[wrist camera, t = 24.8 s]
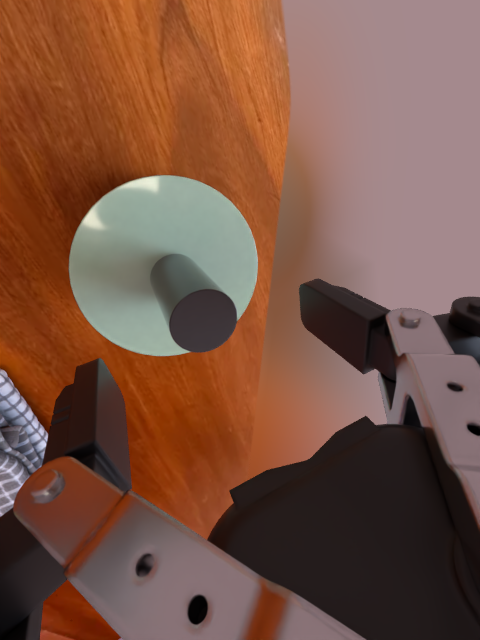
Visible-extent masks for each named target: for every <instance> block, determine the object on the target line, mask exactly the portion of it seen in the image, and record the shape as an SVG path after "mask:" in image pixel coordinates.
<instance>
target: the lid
mask: <svg viewBox="0 0 480 640" xmlns="http://www.w3.org/2000/svg"><path fill="white" fill-rule="evenodd" d="M257 269H258V260H257V251H256V246H255V241H254V238H253V235H252V232H251V230H250V228H249V226H248V224H247V222H246V220H245V219H244V217H243V216H242V214H241V213H240V211H239V210H238V209H237V208H236V207H235V206H234V204H233V203H232V202H231V201H230V200H228V199H227V198H226V197H225V196H224V195H223V194H221V193H220V192H218V191H217V190H215V189H214V188H212V187H210V186H208V185H206V184H204V183H202V182H199V181H196V180H193V179H190V178H186V177H180V176H174V175H154V176H146V177H141V178H138V179H134V180H131V181H128V182H126V183H124V184H122V185H119V186H117V187H115V188H114V189H112V190H111V191H109V192H108V193H106V194H105V195H103V196H102V197H101V198H100V199H99V200H98V201H97V202H96V203H95V204H94V205H93V206H92V207H91V208H90V210H89V211H88V212H87V213H86V215H85V216H84V217H83V219H82V221H81V223H80V225H79V227H78V228H77V230H76V233H75V236H74V239H73V241H72V245H71V250H70V256H69V277H70V284H71V288H72V291H73V294H74V298H75V300H76V302H77V304H78V306H79V308H80V310H81V312H82V313H83V315H84V316H85V318H86V319H87V320H88V321H89V323H90V324H91V325H92V326H93V327H94V328H95V329H96V330H97V331H98V332H99V333H100V334H102V335H103V336H104V337H105V338H107V339H108V340H110V341H111V342H113V343H114V344H116V345H118V346H120V347H123V348H125V349H127V350H130V351H133V352H136V353H141V354H145V355H153V356H172V355H180V354H184V353H189V352H207V351H210V350H213V349H215V348H217V347H219V346H221V345H222V344H223V343H224V342H226V341H227V340H228V338H229V337H230V336H231V335H232V333H233V331H234V329H235V327H236V323H237V321H238V320H239V318H240V317H241V315H242V314H243V312H244V311H245V309H246V307H247V305H248V304H249V302H250V299H251V297H252V294H253V291H254V288H255V284H256V278H257Z"/></svg>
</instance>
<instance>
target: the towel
mask: <svg viewBox="0 0 480 640" xmlns="http://www.w3.org/2000/svg"><path fill="white" fill-rule="evenodd" d="M47 439H48V433H47V432H46V431H45V430H44V427H43V426H42V425H41V424H40V422H39V421H38V420H37V417H36V416H35V415H34V413H33V412H32V410H31V408H30V406H29V405H28V404H27V403H26V401H25V400H24V398H23V397H22V396H20V393H19V392H18V390H17V388H15V387H14V384H13V382H12V381H11V379H10V378H9V377H7V373H6V372H5V371H4V370H3V369H0V517H1V516H2V515H4V514H5V513H6V512H8V511H9V510H10V509H12V508H13V504H14V500H15V498H16V495H17V493H18V491H19V489H20V488H21V486H22V485H23V484H24V482H25V481H26V480H27V479H28V478H29V477H30V476H31V475H32V474H33V473H34V472H35V471H36V470H37V469H38V468H40V467H41V466H42V463H43V458H44V453H45V449H46V444H47Z"/></svg>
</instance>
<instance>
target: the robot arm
mask: <svg viewBox="0 0 480 640" xmlns="http://www.w3.org/2000/svg"><path fill="white" fill-rule="evenodd" d="M299 295H300V310H301V320H302V322H303V325H304V326H305V328H306V329H307V330H308V331H310V332H311V333H312V334H313V335H315V336H316V337H317V338H318V339H320V340H321V341H322V342H323V343H325V344H326V345H327V346H328V347H330V348H331V349H332V350H334V351H335V352H336V353H337V354H339V355H340V356H341V357H342V358H344V359H345V360H346V361H347V362H349V363H350V364H351V365H353V366H354V367H355V368H356V369H357V370H359V371H360V372H361V373H362V374H366V373H368V372H370V371H371V370H374V369H377V370H378V371H379V373H378V381H379V385H380V389H381V394H382V399H383V403H384V408H385V412H386V417H387V424H383V425H375V424H374V423H373V422H372V421H371V420H370V419H369V418H368V417H366V416H365V417H363V418H361V419H359V420H358V421H356V422H354V423H352V424H350V425H348V426H346V427H345V428H343V429H341V430H339V431H337V432H336V433H335V434H334V435H333V436H332V437H331V438H330V439H329V440H328V441H327V442H326V443H325V444H324V445H323V446H322V447H321V448H320V449H319V450H318V451H317V452H316V453H315V454H314V455H313V456H312V457H311V458H310V459H308V460H306V461H303V462H299V463H294V464H290V465H286V466H282V467H278V468H274V469H270V470H266V471H265V472H263V473H261V474H259V475H257V476H255V477H253V478H252V479H250V480H248V481H246V482H244V483H242V484H241V485H239V486H237V487H235V488H233V489H231V490H230V494H231V497H232V499H233V502H234V503H233V504H232V505H231V506H230V507H229V508H228V509H227V510H226V511H225V513H224V514H223V515H222V516H221V518H220V519H219V520H218V522H217V523H216V525H215V526H214V528H213V530H212V531H211V533H210V535H209V537H208V539H207V540H206V539H204V538H203V537H201V536H200V535H198V534H197V533H195V532H194V531H192V530H191V529H189V528H188V527H186V526H185V525H183V524H182V523H180V522H179V521H177V520H176V519H174V518H173V517H171V516H170V515H168V514H167V513H165V512H164V511H162V510H161V509H159V508H158V507H156V506H155V505H153V504H152V503H150V502H149V501H147V500H146V499H144V498H143V497H141V496H140V495H138V494H137V493H135V492H133V491H131V490H130V489H132V485H131V473H130V461H129V448H128V436H127V424H126V411H125V403H124V399H123V396H122V393H121V391H120V389H119V387H118V385H117V384H116V382H115V380H114V379H113V377H112V375H111V373H110V372H109V370H108V368H107V366H106V365H105V363H104V361H103V360H102V359H101V358H99V359H96V360H94V361H91V362H88V363H85V364H83V365H80V366H77V368H76V372H75V379H74V384H71V385H68V386H66V387H65V388H64V389H63V391H62V392H61V393H60V395H59V396H58V398H57V399H56V402H55V407H54V412H53V413H54V415H53V416H52V421H51V425H52V426H50V430H49V435H48V439H47V444H46V449H45V453H44V458H43V463H42V466H41V467H40V468H38V469H37V470H36V471H35V472H34V473H33V474H32V475H31V476H30V477H29V478H28V479H27V480H26V481H25V482H24V484H23V485H22V486H21V488H20V489H19V491H18V493H17V495H16V498H15V500H14V504H13V508H12V509H10V510H9V511H8V512H6V513H5V514H4V515H2V516H1V517H0V640H40V630H41V620H42V609H43V601H44V600H45V599H47V598H48V597H49V596H50V595H51V594H52V593H53V592H54V591H55V590H56V589H57V588H58V587H60V586H61V585H62V584H63V583H64V582H65V581H66V580H67V579H68V580H69V581H70V582H71V583H72V585H73V586H74V587H75V588H76V589H77V590H78V591H79V592H80V593H81V594H82V595H83V596H84V598H85V599H86V600H87V601H88V602H89V603H90V604H91V605H92V606H93V607H94V608H95V610H96V611H97V612H98V613H99V614H100V615H101V616H102V617H103V618H104V619H105V620H106V621H107V623H108V624H109V625H110V626H111V627H112V628H113V629H114V630H115V631H116V632H117V633H118V635H119V636H120V637H121V638H122V639H123V640H480V297H463V298H459V299H456V300H455V301H454V302H453V303H452V307H451V310H450V313H448V314H442V315H436V316H431V315H430V314H428V313H426V312H424V311H421V310H418V309H412V308H400V309H395V310H392V311H391V310H388V309H386V308H384V307H382V306H380V305H378V304H376V303H374V302H372V301H370V300H368V299H366V298H363V297H362V296H360V295H358V294H355V293H354V292H352V291H350V290H348V289H346V288H343V287H338V286H334V285H331V284H329V283H327V282H325V281H323V280H321V279H314V280H312V281H309V282H306V283H304V284H301V285H300V288H299Z"/></svg>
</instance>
